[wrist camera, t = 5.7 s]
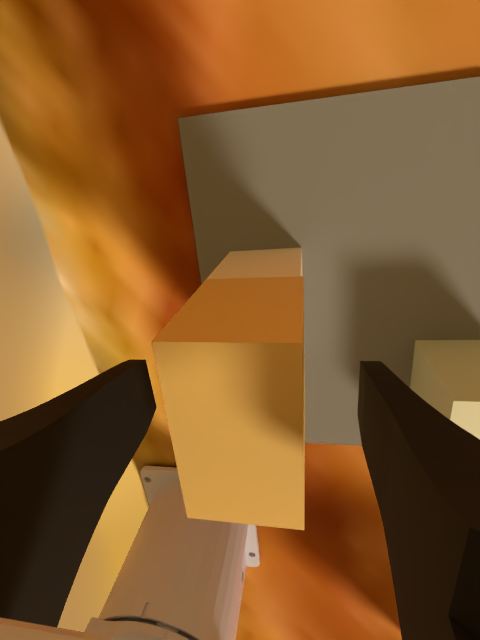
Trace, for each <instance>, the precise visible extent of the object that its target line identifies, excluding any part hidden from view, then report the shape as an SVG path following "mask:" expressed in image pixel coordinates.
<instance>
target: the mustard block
mask: <svg viewBox="0 0 480 640" xmlns="http://www.w3.org/2000/svg"><path fill="white" fill-rule="evenodd" d="M152 347H153V352H154V357H155V362H156V367H157V372H158V377H159V381H160V386H161V391H162V396H163V401H164V406H165V411H166V416H167V421H168V426H169V431H170V435H171V440H172V445H173V450H174V455H175V460H176V465H177V470H178V475H179V480H180V485H181V489H182V494H183V499H184V504H185V509H186V514H187V518H194V519H203V520H213V521H222V522H231V523H241V524H250V525H259V526H269V527H278V528H287V529H296V530H304V505H305V377H304V276H298V277H263V278H228V279H206V280H205V281H204V282H203V283H202V285H201V286H200V287H199V288H198V289H197V290H196V291H195V293H194V294H193V295H192V296H191V297H190V298H189V299H188V301H187V302H186V303H185V304H184V305H183V306H182V308H181V309H180V310H179V311H178V312H177V313H176V314H175V316H174V317H173V318H172V319H171V320H170V321H169V322H168V324H167V325H166V326H165V327H164V328H163V329H162V330H161V332H160V333H159V334H158V335H157V336H156V337H155V338H154V340H153V341H152Z"/></svg>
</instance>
